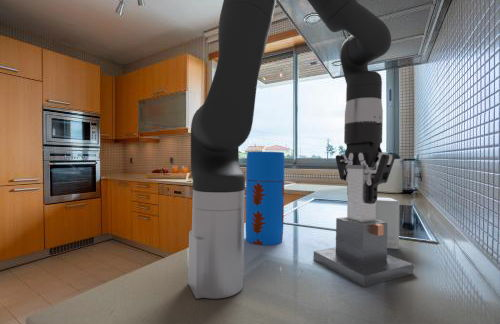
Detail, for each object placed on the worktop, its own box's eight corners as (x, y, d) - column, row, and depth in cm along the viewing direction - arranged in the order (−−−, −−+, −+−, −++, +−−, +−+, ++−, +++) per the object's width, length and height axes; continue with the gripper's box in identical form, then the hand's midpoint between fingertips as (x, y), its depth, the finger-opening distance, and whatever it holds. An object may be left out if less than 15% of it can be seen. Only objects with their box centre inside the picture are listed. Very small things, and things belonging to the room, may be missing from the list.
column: (361, 257, 53) (363, 165, 53) (344, 250, 57) (346, 164, 57) (377, 254, 55) (378, 165, 55) (359, 247, 59) (360, 165, 59)
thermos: (239, 242, 71) (240, 151, 71) (252, 232, 81) (254, 153, 81) (277, 247, 67) (279, 151, 67) (286, 236, 77) (288, 153, 77)
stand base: (364, 287, 46) (365, 231, 46) (313, 259, 59) (314, 216, 59) (413, 273, 52) (413, 224, 52) (357, 251, 65) (358, 211, 65)
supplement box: (399, 249, 67) (400, 201, 67) (369, 247, 69) (370, 199, 69) (390, 241, 74) (391, 197, 74) (362, 239, 76) (363, 196, 76)
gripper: (326, 125, 60) (325, 198, 60) (380, 115, 48) (378, 208, 48) (350, 127, 64) (348, 196, 64) (406, 119, 51) (404, 206, 51)
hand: (361, 201), depth 56 cm, fingers closed on column, 4 cm apart
